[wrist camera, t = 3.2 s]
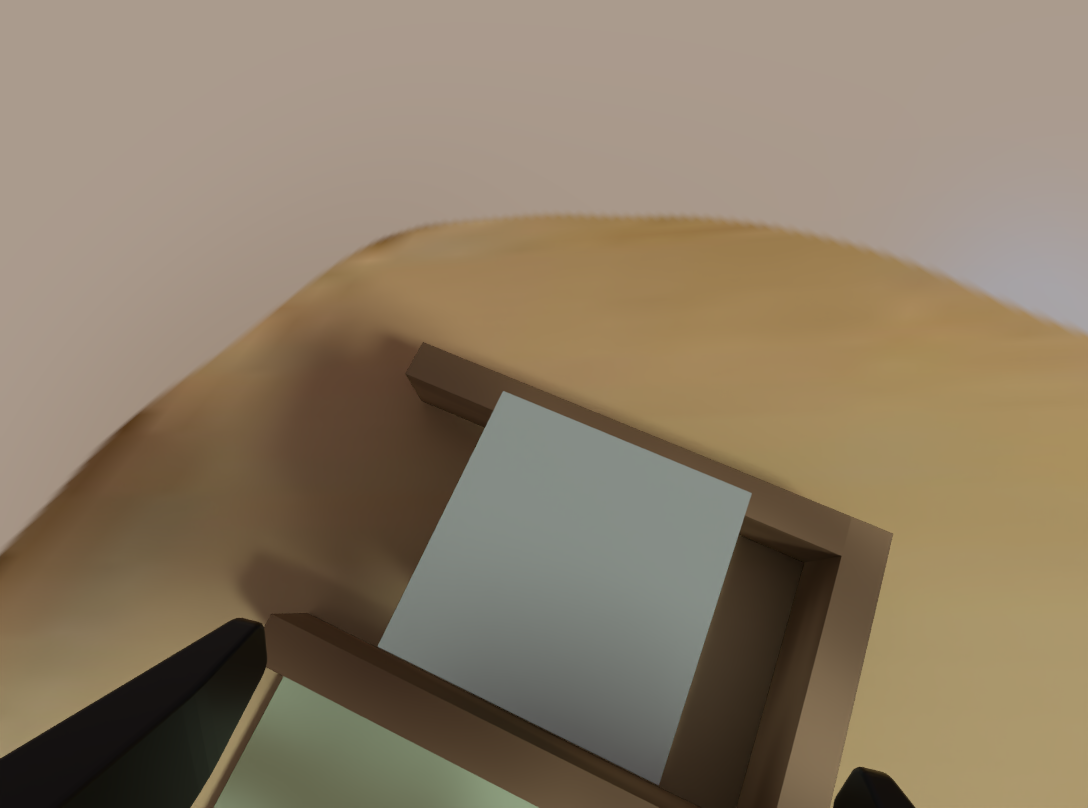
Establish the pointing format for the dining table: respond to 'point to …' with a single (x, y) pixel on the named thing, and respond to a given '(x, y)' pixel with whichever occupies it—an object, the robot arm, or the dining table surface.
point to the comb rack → (519, 747)
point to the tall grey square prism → (572, 583)
